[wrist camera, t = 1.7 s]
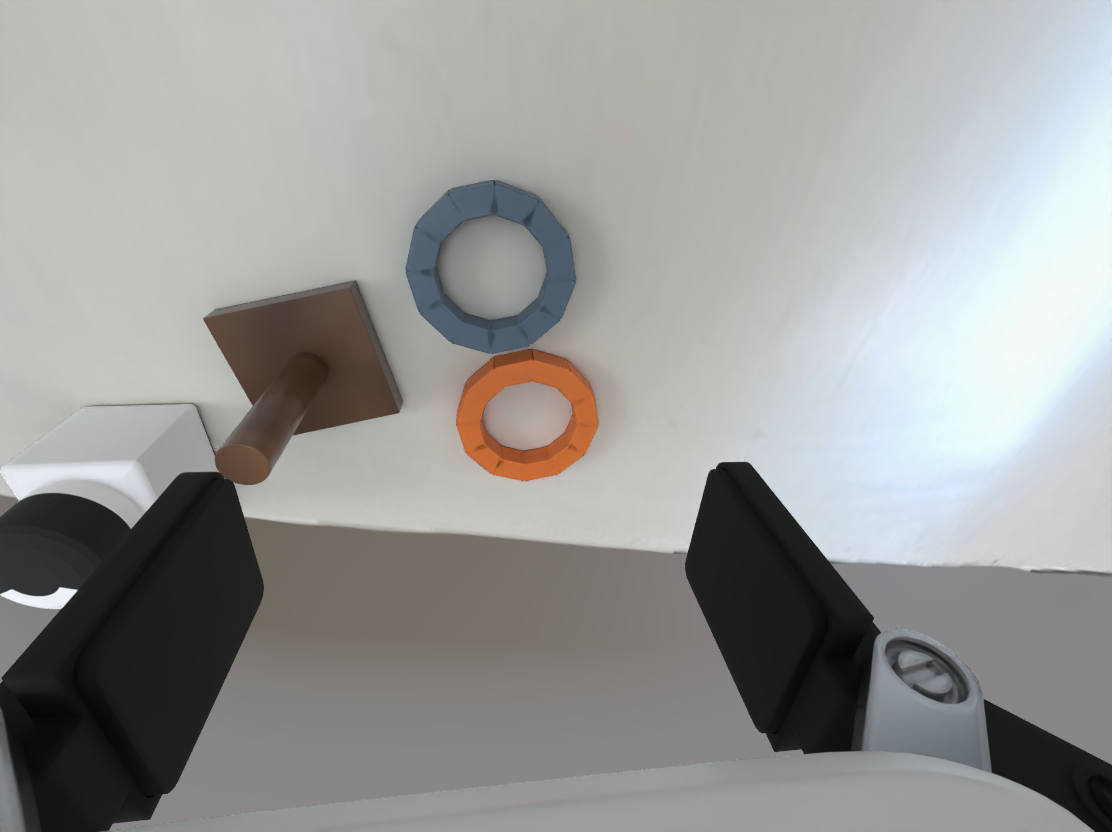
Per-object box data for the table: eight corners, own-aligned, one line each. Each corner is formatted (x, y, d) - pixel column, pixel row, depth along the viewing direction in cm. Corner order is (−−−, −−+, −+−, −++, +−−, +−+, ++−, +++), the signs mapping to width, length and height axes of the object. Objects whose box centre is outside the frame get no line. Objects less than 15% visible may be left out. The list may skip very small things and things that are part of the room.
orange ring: (582, 338, 36) (586, 348, 34) (600, 451, 41) (604, 464, 39) (442, 367, 36) (440, 378, 34) (478, 477, 41) (478, 491, 39)
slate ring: (555, 167, 30) (559, 169, 28) (580, 324, 35) (584, 334, 34) (388, 201, 30) (383, 206, 28) (438, 354, 35) (436, 365, 33)
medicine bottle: (81, 404, 34) (-94, 531, 24) (196, 401, 35) (75, 523, 24) (124, 488, 38) (-11, 630, 27) (227, 484, 38) (133, 619, 28)
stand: (355, 280, 32) (294, 360, 22) (402, 401, 37) (370, 515, 26) (214, 309, 32) (85, 404, 22) (280, 427, 36) (199, 551, 26)
